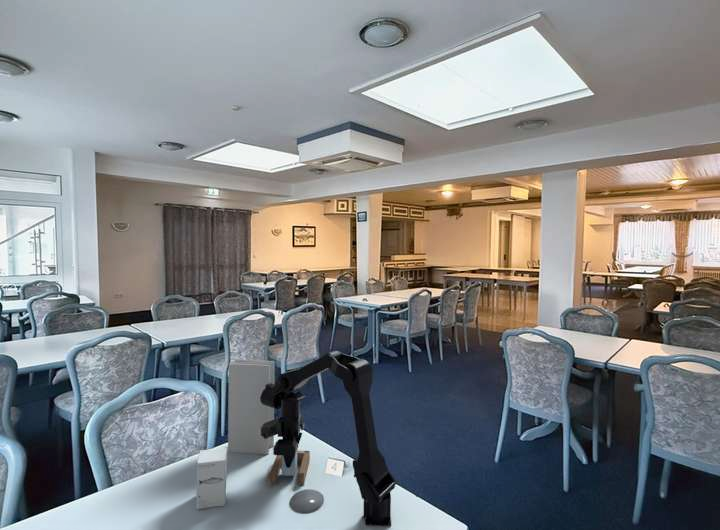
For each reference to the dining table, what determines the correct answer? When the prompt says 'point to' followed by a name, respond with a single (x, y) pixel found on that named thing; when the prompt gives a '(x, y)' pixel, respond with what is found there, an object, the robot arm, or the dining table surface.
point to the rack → (302, 459)
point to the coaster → (307, 500)
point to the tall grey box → (249, 406)
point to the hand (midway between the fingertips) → (289, 463)
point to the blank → (292, 468)
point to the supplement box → (211, 478)
